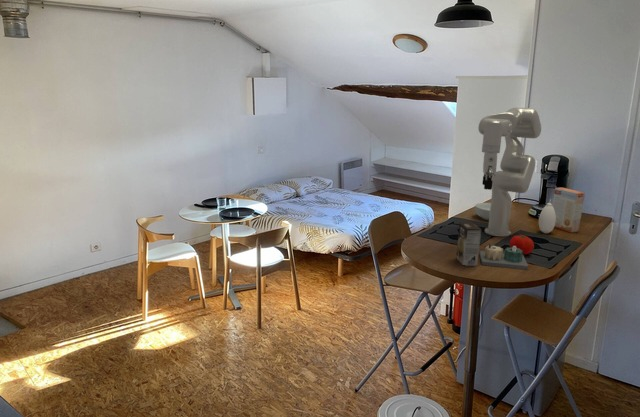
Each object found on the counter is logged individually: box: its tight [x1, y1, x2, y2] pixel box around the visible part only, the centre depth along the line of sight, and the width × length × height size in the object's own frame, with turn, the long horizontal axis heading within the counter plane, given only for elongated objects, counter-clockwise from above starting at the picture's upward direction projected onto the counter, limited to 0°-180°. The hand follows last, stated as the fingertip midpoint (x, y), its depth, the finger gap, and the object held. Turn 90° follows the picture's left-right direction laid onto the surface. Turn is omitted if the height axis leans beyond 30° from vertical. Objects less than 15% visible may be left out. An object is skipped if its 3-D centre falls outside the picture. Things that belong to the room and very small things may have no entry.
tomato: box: [509, 234, 535, 256], centre depth 222 cm, size 9×10×8 cm
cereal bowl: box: [474, 202, 491, 221], centre depth 277 cm, size 17×17×7 cm
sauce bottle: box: [538, 198, 556, 234], centre depth 252 cm, size 8×8×18 cm
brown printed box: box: [455, 222, 482, 267], centre depth 209 cm, size 9×6×16 cm
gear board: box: [479, 243, 529, 270], centre depth 212 cm, size 14×18×7 cm
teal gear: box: [503, 247, 524, 262], centre depth 211 cm, size 7×7×4 cm
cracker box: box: [552, 186, 585, 233], centre depth 259 cm, size 14×6×21 cm, turn 22°
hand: (486, 187), depth 223 cm, fingers open, 9 cm apart
